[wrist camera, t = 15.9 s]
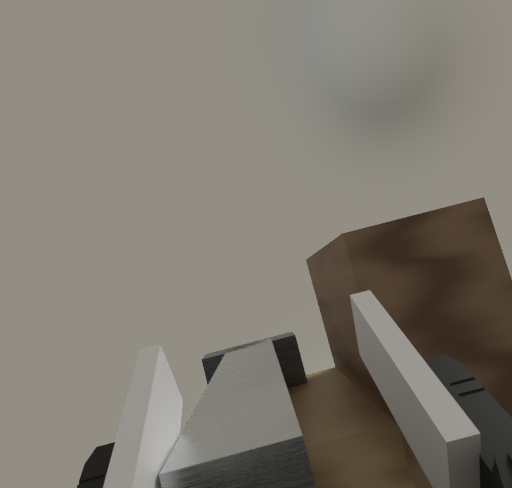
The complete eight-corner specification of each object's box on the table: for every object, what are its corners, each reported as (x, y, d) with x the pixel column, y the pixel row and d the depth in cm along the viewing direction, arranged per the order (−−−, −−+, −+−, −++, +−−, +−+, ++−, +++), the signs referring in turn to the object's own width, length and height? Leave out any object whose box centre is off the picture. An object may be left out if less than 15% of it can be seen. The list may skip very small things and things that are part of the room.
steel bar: (117, 657, 10) (85, 494, 11) (216, 398, 36) (206, 354, 37) (417, 571, 11) (373, 416, 11) (303, 375, 36) (291, 331, 37)
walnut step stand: (255, 905, 18) (123, 289, 21) (256, 619, 34) (180, 292, 37) (678, 775, 19) (483, 197, 22) (484, 554, 34) (388, 238, 38)
